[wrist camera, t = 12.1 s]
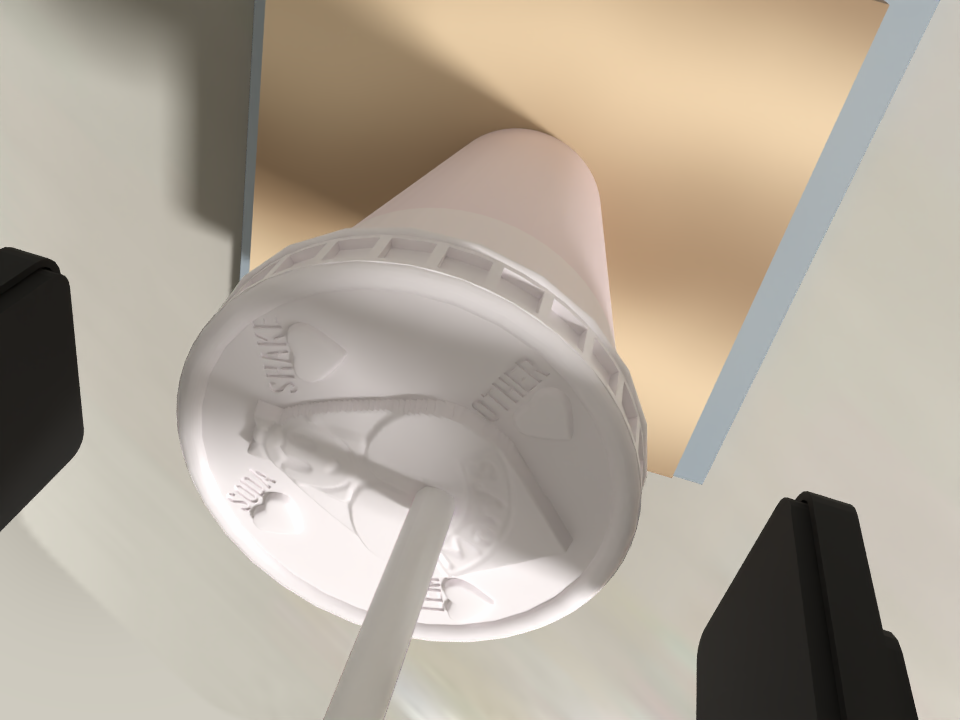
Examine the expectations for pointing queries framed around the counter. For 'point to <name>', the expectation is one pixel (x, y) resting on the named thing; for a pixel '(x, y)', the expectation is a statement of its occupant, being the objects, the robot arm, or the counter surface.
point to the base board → (800, 241)
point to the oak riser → (576, 141)
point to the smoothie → (427, 412)
